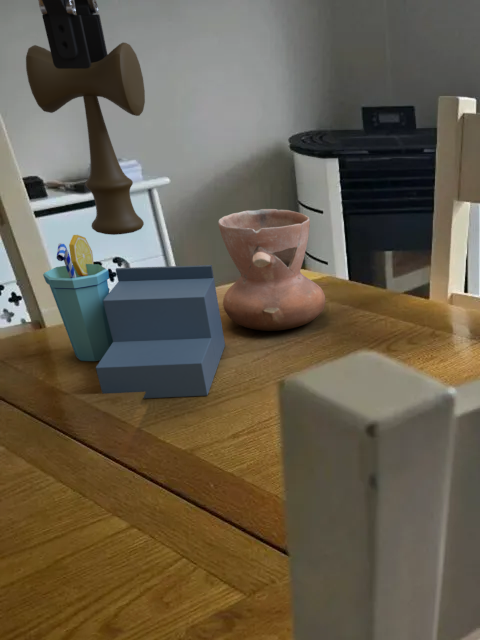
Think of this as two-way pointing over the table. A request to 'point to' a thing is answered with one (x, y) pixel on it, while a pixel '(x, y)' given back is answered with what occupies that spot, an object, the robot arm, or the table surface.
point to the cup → (81, 299)
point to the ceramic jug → (270, 270)
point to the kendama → (96, 123)
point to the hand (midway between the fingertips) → (82, 63)
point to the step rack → (162, 332)
